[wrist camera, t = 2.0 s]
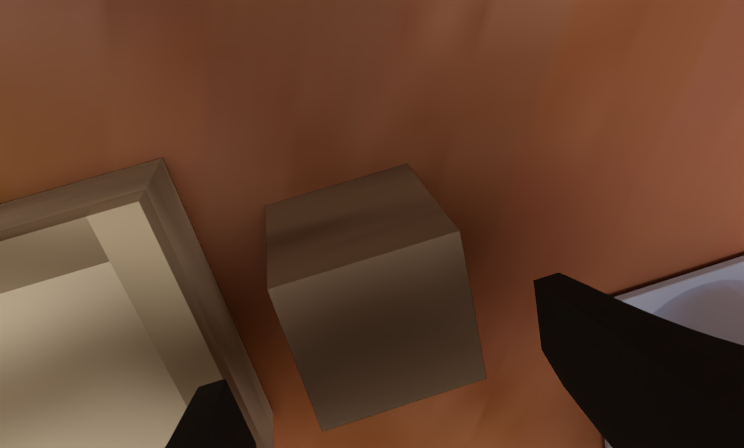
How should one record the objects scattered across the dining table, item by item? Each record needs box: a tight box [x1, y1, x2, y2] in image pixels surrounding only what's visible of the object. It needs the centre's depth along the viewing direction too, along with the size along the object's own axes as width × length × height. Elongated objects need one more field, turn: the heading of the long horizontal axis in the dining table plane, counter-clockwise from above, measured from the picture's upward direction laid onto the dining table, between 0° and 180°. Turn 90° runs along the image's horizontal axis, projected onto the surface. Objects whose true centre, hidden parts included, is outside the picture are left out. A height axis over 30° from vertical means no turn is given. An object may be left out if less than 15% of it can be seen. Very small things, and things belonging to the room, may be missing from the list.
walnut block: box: [265, 164, 487, 432], centre depth 15 cm, size 4×4×5 cm
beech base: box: [0, 158, 274, 448], centre depth 16 cm, size 10×10×3 cm
